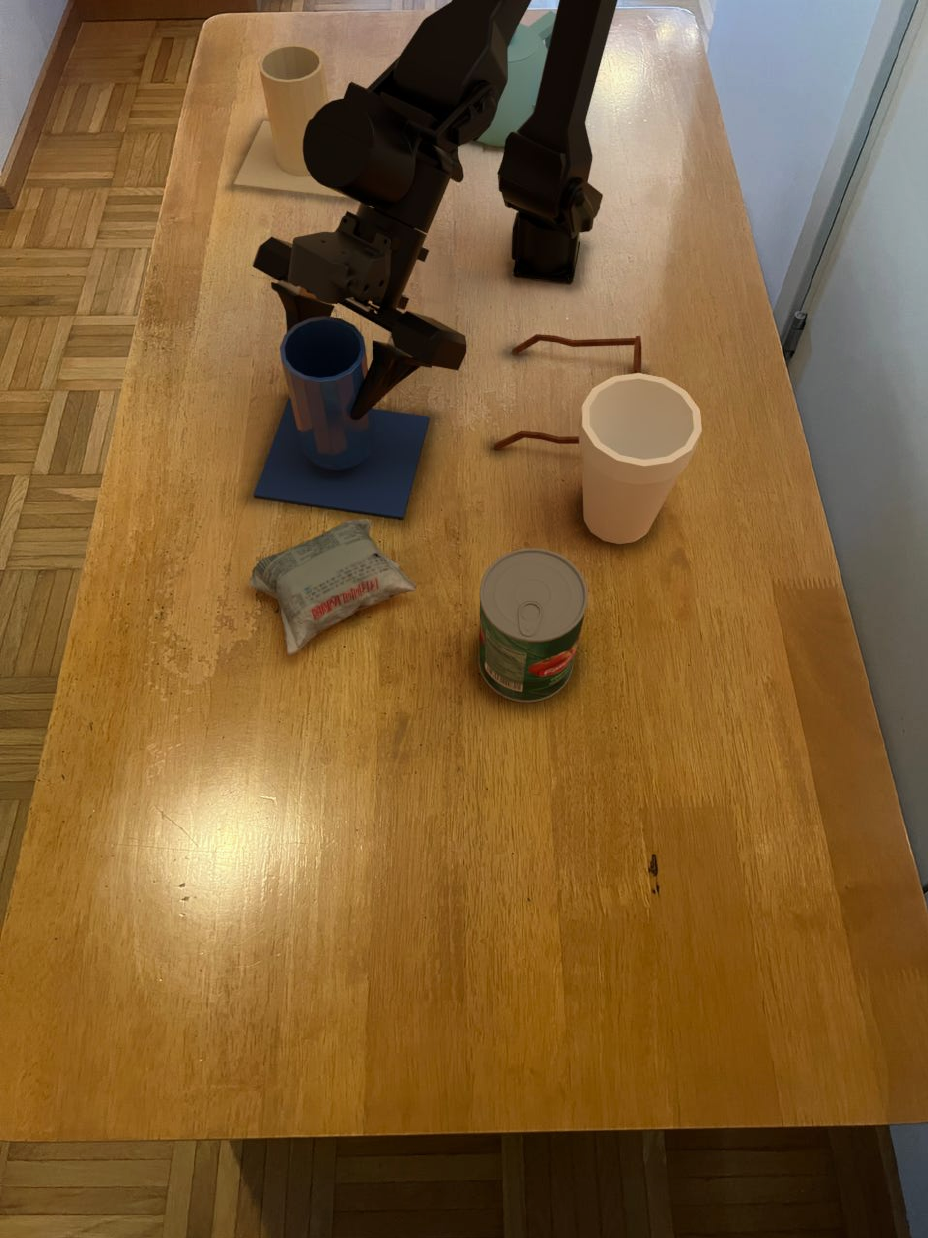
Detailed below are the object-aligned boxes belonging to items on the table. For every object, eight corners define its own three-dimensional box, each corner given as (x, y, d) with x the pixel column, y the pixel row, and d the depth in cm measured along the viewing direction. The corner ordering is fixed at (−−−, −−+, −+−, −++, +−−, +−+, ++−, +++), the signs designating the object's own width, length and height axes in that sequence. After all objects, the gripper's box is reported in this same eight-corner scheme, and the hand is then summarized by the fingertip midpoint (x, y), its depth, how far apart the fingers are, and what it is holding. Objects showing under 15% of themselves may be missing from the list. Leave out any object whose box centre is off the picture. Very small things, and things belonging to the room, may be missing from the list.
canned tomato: (485, 612, 79) (488, 540, 70) (578, 625, 79) (593, 554, 69) (471, 696, 75) (471, 632, 66) (567, 710, 75) (582, 648, 65)
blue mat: (429, 419, 90) (429, 416, 89) (403, 519, 84) (403, 517, 84) (289, 399, 91) (288, 396, 91) (254, 497, 85) (253, 494, 85)
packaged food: (417, 603, 80) (414, 572, 75) (292, 666, 77) (281, 637, 73) (371, 531, 83) (365, 498, 79) (249, 589, 81) (237, 557, 76)
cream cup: (341, 142, 110) (329, 47, 100) (327, 179, 107) (313, 84, 97) (286, 136, 110) (268, 41, 101) (270, 172, 107) (250, 77, 98)
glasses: (631, 467, 87) (640, 432, 82) (493, 450, 88) (494, 414, 83) (641, 364, 93) (649, 326, 89) (512, 349, 94) (514, 311, 90)
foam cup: (678, 486, 86) (710, 387, 74) (661, 568, 81) (692, 476, 70) (577, 464, 87) (593, 363, 76) (555, 544, 83) (569, 450, 71)
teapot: (567, 158, 109) (576, 66, 99) (438, 157, 109) (436, 65, 100) (563, 81, 116) (571, -12, 107) (442, 80, 116) (440, -13, 107)
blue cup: (369, 405, 87) (358, 311, 77) (380, 464, 84) (370, 374, 74) (297, 415, 87) (276, 322, 76) (305, 475, 84) (284, 386, 73)
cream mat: (376, 135, 111) (376, 132, 111) (352, 200, 105) (352, 197, 105) (263, 123, 112) (263, 120, 112) (234, 186, 107) (233, 183, 106)
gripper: (243, 143, 69) (177, 341, 75) (441, 245, 64) (354, 450, 69) (327, 183, 79) (263, 354, 85) (504, 274, 74) (424, 451, 79)
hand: (321, 399), depth 79 cm, fingers closed on blue cup, 7 cm apart
